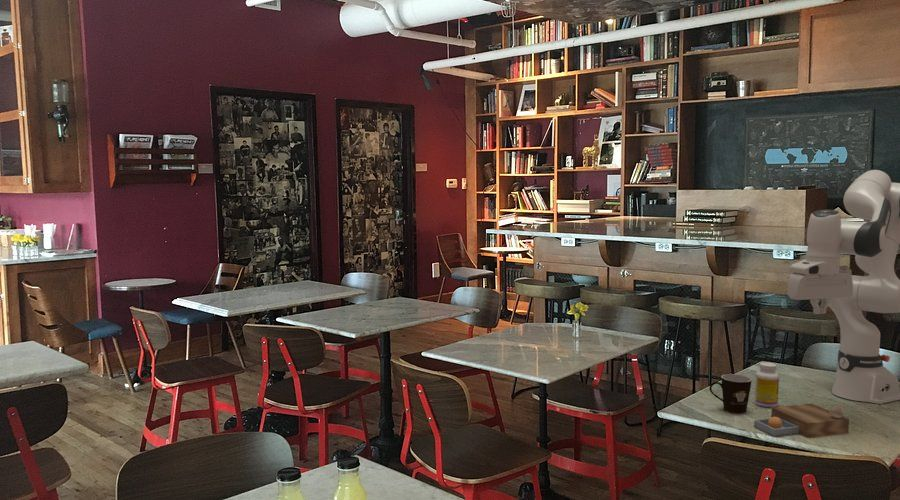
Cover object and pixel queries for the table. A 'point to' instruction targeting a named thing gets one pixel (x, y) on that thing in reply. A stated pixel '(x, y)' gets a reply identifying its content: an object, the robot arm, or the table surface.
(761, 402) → the supplement bottle
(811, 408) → the wooden cutting board
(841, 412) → the cream ball
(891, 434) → the table surface
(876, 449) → the table surface
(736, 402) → the coffee mug
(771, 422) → the ball
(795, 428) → the dish
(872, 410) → the table surface
